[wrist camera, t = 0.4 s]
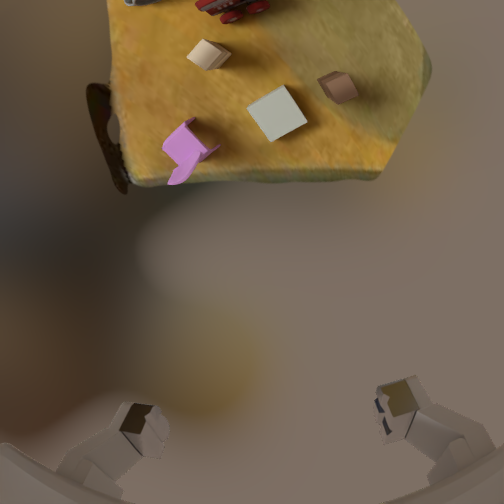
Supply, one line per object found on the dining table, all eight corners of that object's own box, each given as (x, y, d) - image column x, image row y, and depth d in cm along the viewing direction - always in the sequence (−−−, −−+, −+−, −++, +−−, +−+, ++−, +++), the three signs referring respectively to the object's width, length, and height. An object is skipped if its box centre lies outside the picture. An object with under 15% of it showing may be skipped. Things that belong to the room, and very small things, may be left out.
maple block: (202, 57, 40) (186, 57, 33) (215, 42, 38) (202, 38, 30) (218, 68, 42) (205, 70, 34) (232, 53, 40) (222, 52, 32)
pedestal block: (248, 105, 47) (246, 108, 44) (283, 84, 43) (284, 86, 40) (271, 136, 51) (270, 142, 48) (305, 117, 47) (307, 122, 44)
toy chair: (196, 111, 48) (170, 131, 36) (224, 142, 52) (208, 170, 41) (169, 137, 52) (138, 164, 40) (196, 165, 56) (174, 199, 44)
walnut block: (316, 79, 42) (325, 83, 34) (334, 71, 40) (347, 73, 32) (327, 96, 44) (338, 104, 36) (344, 88, 42) (359, 95, 34)
